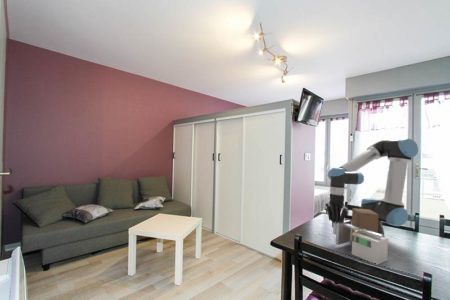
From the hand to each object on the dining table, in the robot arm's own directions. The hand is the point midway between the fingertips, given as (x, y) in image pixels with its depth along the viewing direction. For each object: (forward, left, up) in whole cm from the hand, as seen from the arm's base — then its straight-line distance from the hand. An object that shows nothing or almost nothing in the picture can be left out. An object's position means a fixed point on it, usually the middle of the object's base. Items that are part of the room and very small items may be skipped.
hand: (335, 233), depth 124 cm
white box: (0, +18, -5) cm, 19 cm away
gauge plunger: (0, +14, -3) cm, 14 cm away
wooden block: (-13, +9, -6) cm, 17 cm away
